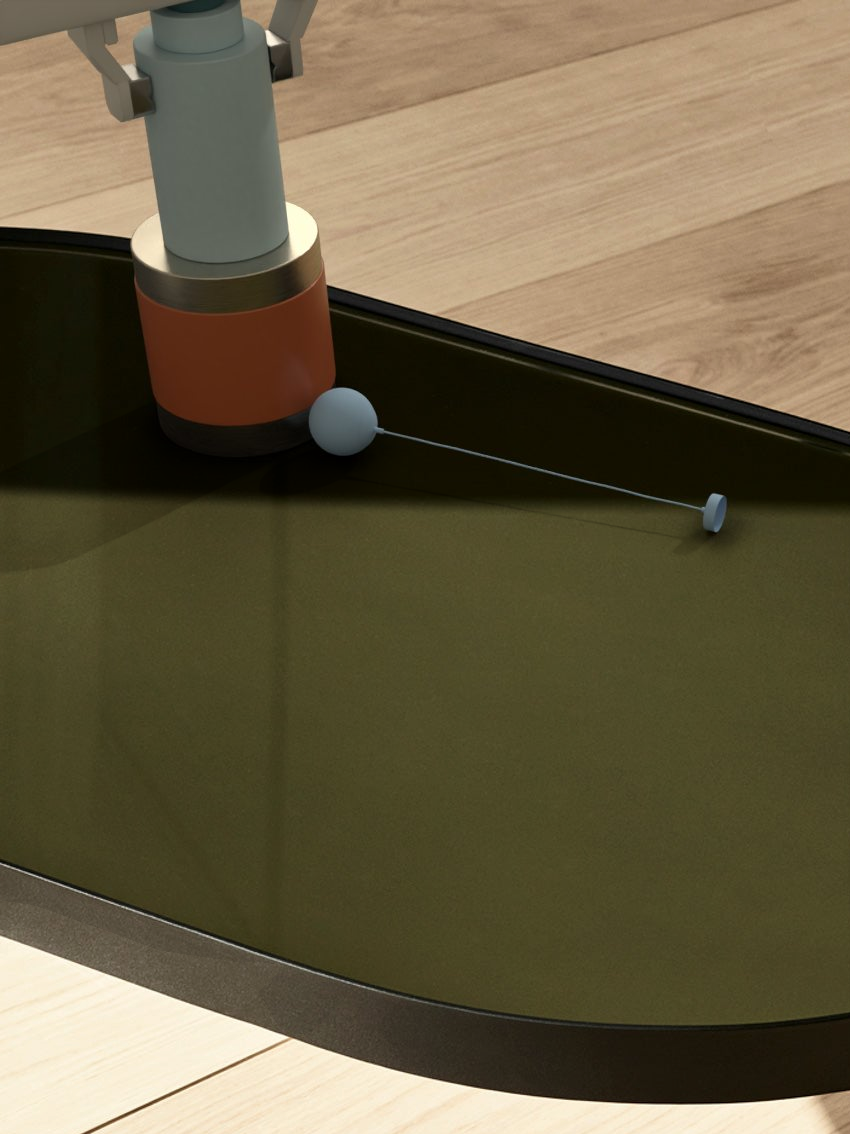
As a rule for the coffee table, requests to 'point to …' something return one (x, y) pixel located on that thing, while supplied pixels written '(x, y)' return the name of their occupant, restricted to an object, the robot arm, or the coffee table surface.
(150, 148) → the bottle
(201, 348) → the tin
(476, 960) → the coffee table surface
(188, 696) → the coffee table surface
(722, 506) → the ball ended pin
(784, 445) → the coffee table surface
